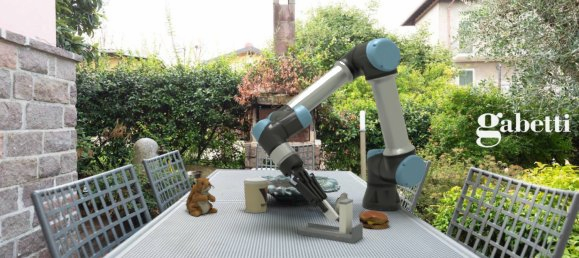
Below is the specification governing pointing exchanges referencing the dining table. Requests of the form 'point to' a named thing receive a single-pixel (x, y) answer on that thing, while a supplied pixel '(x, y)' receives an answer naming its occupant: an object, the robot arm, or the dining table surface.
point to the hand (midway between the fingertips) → (335, 219)
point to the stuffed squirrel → (200, 198)
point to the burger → (374, 219)
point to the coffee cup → (256, 194)
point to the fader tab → (345, 216)
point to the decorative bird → (342, 197)
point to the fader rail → (332, 232)
